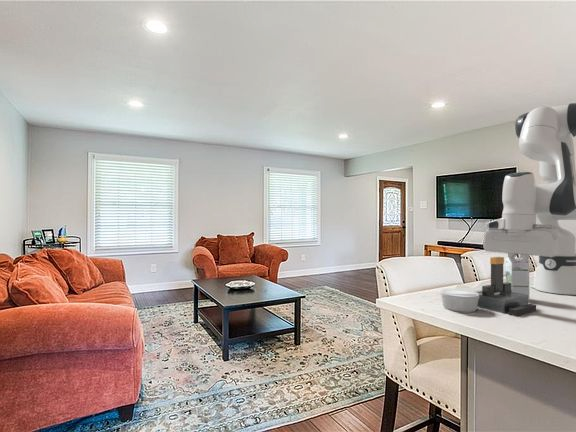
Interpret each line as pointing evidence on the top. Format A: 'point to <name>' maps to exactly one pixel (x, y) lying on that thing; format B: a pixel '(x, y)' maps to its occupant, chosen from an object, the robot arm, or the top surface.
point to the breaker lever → (497, 273)
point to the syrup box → (518, 277)
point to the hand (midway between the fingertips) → (518, 268)
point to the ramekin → (459, 300)
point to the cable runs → (522, 310)
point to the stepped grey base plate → (500, 298)
